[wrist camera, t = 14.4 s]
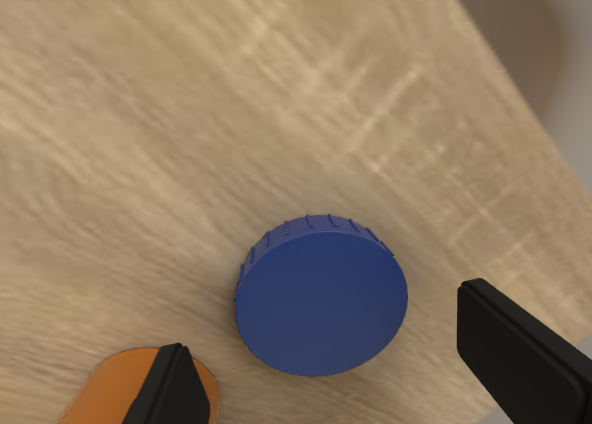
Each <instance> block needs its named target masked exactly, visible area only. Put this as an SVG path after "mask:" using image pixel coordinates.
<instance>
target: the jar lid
mask: <svg viewBox="0 0 592 424" xmlns="http://www.w3.org/2000/svg"><path fill="white" fill-rule="evenodd" d="M392 256H394V255H393V253H392V252H391V251H390V250H389V249H388V248H387V247H386V245H385V244H384V243H383V242H382V241H380V242H379V239H378V238H377V237H376V236H375V235H374V234H373V233H372V231H371V230H370V229H369V228H367V229H366V228H364V227H362V226H361V225H359V224H357V223H355V222H353V220H352V219H350V218H349V220H347V219H344V218H340V217H334V216H332V215H331V214H328V216H322V215H318V216H309V215H306V217H303V218H299V219H295V220H292V221H290V222H287V221H285V224H283V225H281V226H279V227H277V228H275V229H274V230H272V231H271V232H269V233H268V232H266V235H265V236H264V237H263V238H262V239H261V240H260V241H259V242H258V243H257V244H256V245H255V247H251V251H250V254H249V255H248V257H247V259H246V261H245V263H244V264H242V265H241V270H240V275H239V281H238V283H237V288H236V293H235V299H234V302H236V305H235V317H236V323H237V327H238V330H239V333H240V335H241V337H242V339H243V341H244V343H245V344H246V346H247V347H248V348H249V350H250V351H251V352H252V353H253V354H254V355H255V356H256V357H257V358H259V359H260V360H261V361H263V362H264V363H265V364H267V365H269V366H271V367H273V368H275V369H277V370H280V371H282V372H286V373H289V374H293V375H299V376H311V377H313V376H327V375H333V374H337V373H342V372H345V371H348V370H350V369H353V368H355V367H357V366H360V365H362V364H363V363H365V362H367V361H368V360H370V359H371V358H373V357H374V356H376V355H377V354H378V353H379V352H380V351H382V350H383V349H384V348H385V347H386V346H387V345H388V344H389V342H390V341H391V340H392V339H393V337H394V336H395V335H396V333H397V332H398V330H399V328H400V326H401V324H402V322H403V319H404V316H405V313H406V308H407V300H408V293H407V285H406V281H405V277H404V275H403V272H402V270H401V268H400V266H399V265H398V263H397V261H396V260H395V259H394V258H393V257H392Z"/></svg>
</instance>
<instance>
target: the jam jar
mask: <svg viewBox="0 0 592 424" xmlns="http://www.w3.org/2000/svg"><path fill="white" fill-rule="evenodd" d="M159 349H160V348H140V349H132V350H128V351H124V352H121V353H118V354H115V355H113V356H111V357H109V358H107V359H106V360H104V361H103V362H101V363H100V364H99V365H98V366H97V367H95V368H94V369H93V371H92V372H91V373H90V374H89V376H88V377H87V379H86V380H85V382H84V383H83V384H82V386H81V387H80V389H79V390H78V392H77V393H76V394H75V396H74V397H73V399H72V400H71V402H70V403H69V404H68V406H67V407H66V409H65V410H64V412H63V413H62V415H61V416H60V417H59V419H58V420H57V422H56V423H55V424H122V422H123V420H124V418H125V416H126V413H127V411H128V409H129V407H130V405H131V404H132V402H133V400H134V399H136V397H137V395H138V393H139V391H140V389H141V387H142V384H143V382H144V380H145V378H146V376H147V374H148V372H149V370H150V368H151V365H152V363H153V361H154V359H155V357H156V355H157V353H158V351H159ZM192 359H193V358H192ZM193 362H194V364H195V367H196V369H197V372H198V374H199V377H200V379H201V381H202V384H203V386H204V389H205V391H206V394H207V396H208V399H209V402H210V408H211V411H210V418H209V423H208V424H217V421H218V415H219V409H220V403H221V394H220V389H219V386H218V383H217V381H216V379H215V378H214V376H213V375H212V374H211V372H210V371H209V370H208V369H207V368H206V367H205V366H203V365H202V364H201V363H199V362H198V361H196V360H195V359H193Z"/></svg>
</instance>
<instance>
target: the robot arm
mask: <svg viewBox="0 0 592 424" xmlns="http://www.w3.org/2000/svg"><path fill="white" fill-rule="evenodd" d="M457 350H458V353H459V355H460V357H461V358H462V360H463V361H464V362H465V363H466V365H467V366H468V367H469V368H470V370H471V371H472V372H473V373H474V375H475V376H476V377H477V378H478V380H479V381H480V382H481V383H482V385H483V386H484V387H485V388H486V390H487V391H488V392H489V393H490V395H491V396H492V397H493V398H494V400H495V401H496V402H497V403H498V405H499V406H500V407H501V408H502V409H503V411H504V412H505V413H506V414H507V416H508V417H509V418H510V419H511V421H512V422H513V423H514V424H592V360H591V359H590V358H588V357H587V356H586V355H584V354H583V353H582V352H580V351H579V350H578V349H576V348H575V347H574V346H572V345H571V344H570V343H568V342H567V341H566V340H564V339H563V338H562V337H560V336H559V335H558V334H556V333H555V332H554V331H552V330H551V329H550V328H548V327H547V326H546V325H544V324H543V323H542V322H540V321H539V320H538V319H536V318H535V317H534V316H532V315H531V314H530V313H528V312H527V311H526V310H524V309H523V308H522V307H520V306H519V305H518V304H516V303H515V302H514V301H512V300H511V299H510V298H508V297H507V296H506V295H504V294H503V293H502V292H500V291H499V290H498V289H496V288H495V287H494V286H492V285H491V284H490V283H488V282H487V281H485V280H484V279H482V278H477V279H473V280H468V281H464V282H462V284H461V287H459V288H458V295H457ZM210 411H211V408H210V402H209V399H208V396H207V394H206V391H205V389H204V386H203V384H202V381H201V379H200V377H199V374H198V372H197V369H196V367H195V364H194V362H193V359H192V357H191V354H190V352H189V349H188V347H187V346H182V344H181V343H175V344H170V345H166V346H162V347H161V348H160V349H159V351H158V353H157V355H156V357H155V359H154V361H153V363H152V365H151V368H150V370H149V372H148V374H147V376H146V378H145V380H144V382H143V384H142V387H141V389H140V391H139V393H138V395H137V397H136V399H134V400H133V402H132V404H131V405H130V407H129V409H128V411H127V413H126V416H125V418H124V420H123V422H122V424H208V423H209V418H210Z"/></svg>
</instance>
